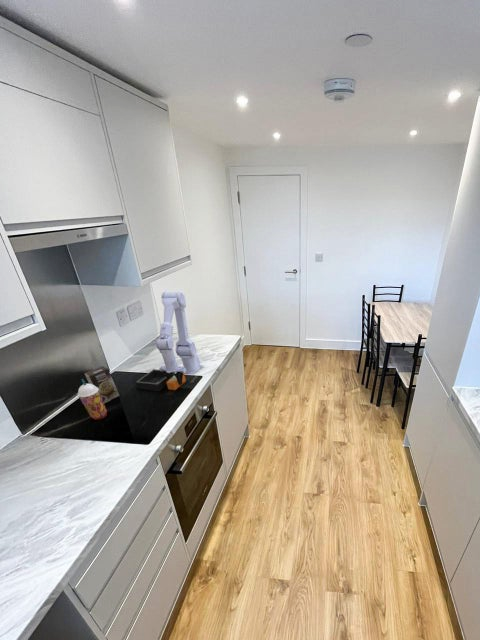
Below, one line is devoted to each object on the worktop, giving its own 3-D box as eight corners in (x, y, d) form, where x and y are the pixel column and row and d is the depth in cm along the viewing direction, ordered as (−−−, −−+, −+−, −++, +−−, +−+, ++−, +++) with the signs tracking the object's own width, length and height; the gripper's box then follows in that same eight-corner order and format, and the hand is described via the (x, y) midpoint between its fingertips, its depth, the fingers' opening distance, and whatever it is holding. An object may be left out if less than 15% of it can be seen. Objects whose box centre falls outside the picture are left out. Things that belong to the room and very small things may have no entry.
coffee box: (102, 404, 160) (89, 376, 151) (96, 401, 164) (83, 372, 155) (120, 396, 166) (108, 368, 157) (114, 392, 170) (102, 365, 161)
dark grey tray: (155, 376, 183) (153, 369, 181) (176, 378, 179) (174, 371, 177) (138, 389, 171) (135, 382, 169) (160, 391, 168) (157, 384, 165)
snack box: (179, 380, 176) (177, 373, 174) (186, 381, 175) (184, 373, 173) (168, 389, 168) (166, 382, 166) (175, 390, 167) (173, 383, 165)
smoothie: (86, 420, 150) (66, 382, 139) (100, 410, 156) (83, 373, 145) (99, 423, 147) (80, 385, 136) (113, 412, 154) (97, 375, 143)
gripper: (153, 362, 163) (160, 386, 170) (177, 365, 159) (184, 388, 166) (161, 356, 168) (168, 379, 176) (185, 358, 165) (192, 382, 172)
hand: (177, 383), depth 171 cm, fingers closed on snack box, 4 cm apart
